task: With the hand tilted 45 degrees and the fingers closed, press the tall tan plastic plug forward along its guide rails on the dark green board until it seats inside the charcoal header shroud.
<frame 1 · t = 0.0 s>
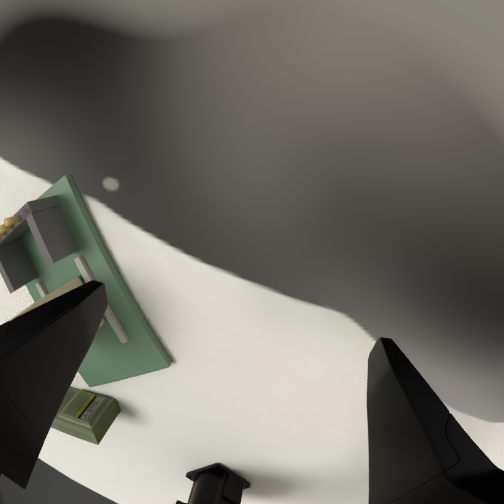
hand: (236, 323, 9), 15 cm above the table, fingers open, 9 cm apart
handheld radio: (45, 381, 34), on the table
plug: (35, 339, 21), point 8 cm above the table, slide at 0.0 cm
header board: (77, 293, 28), on the table
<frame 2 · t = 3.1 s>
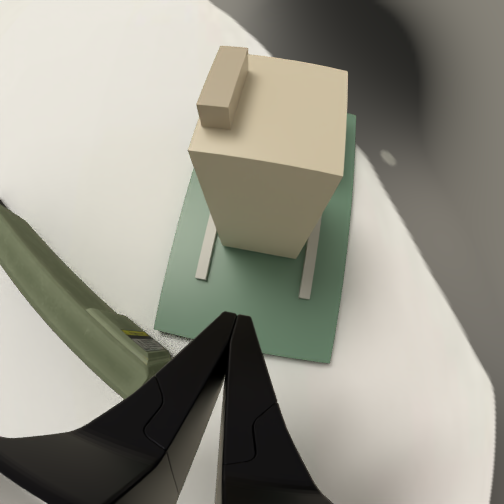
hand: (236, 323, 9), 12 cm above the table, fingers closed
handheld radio: (59, 273, 23), on the table
plug: (270, 172, 15), point 8 cm above the table, slide at 0.0 cm
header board: (267, 210, 23), on the table
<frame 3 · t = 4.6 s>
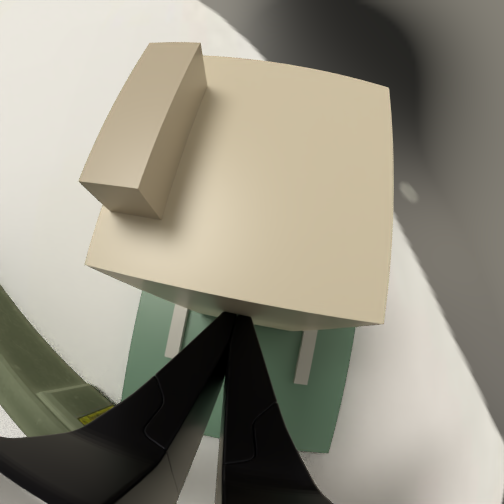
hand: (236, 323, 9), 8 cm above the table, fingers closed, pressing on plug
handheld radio: (19, 325, 18), on the table
plug: (255, 241, 11), point 8 cm above the table, slide at 0.2 cm, touching gripper
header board: (256, 266, 18), on the table
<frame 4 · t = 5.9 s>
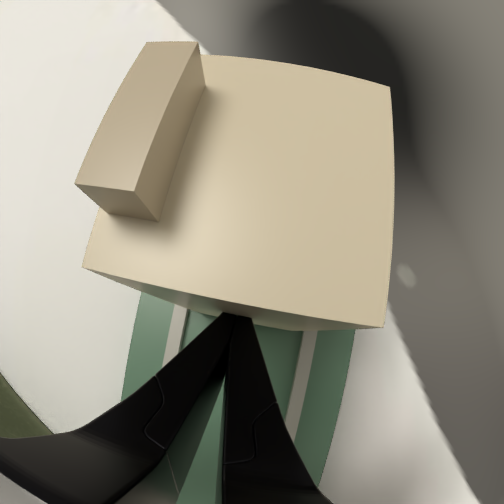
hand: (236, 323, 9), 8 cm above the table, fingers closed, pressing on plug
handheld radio: (11, 397, 16), on the table
plug: (254, 241, 11), point 8 cm above the table, slide at 6.1 cm, touching gripper
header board: (236, 368, 17), on the table
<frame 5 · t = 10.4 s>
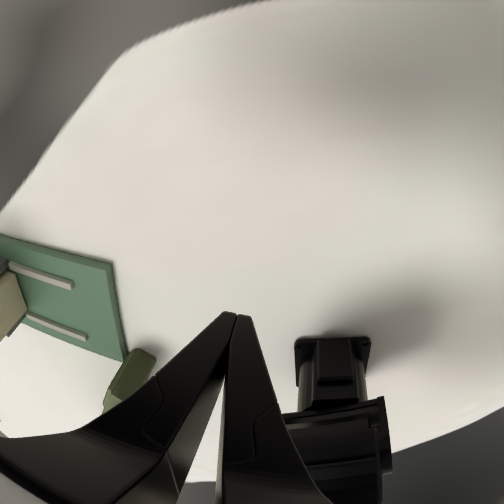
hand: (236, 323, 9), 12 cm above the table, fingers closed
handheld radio: (123, 394, 36), on the table
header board: (42, 291, 28), on the table
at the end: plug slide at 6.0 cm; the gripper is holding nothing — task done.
